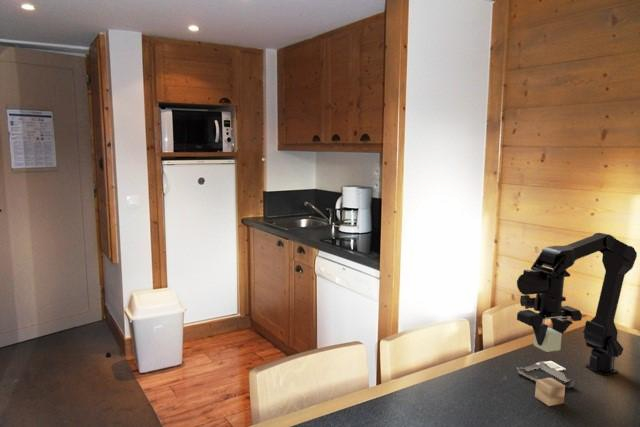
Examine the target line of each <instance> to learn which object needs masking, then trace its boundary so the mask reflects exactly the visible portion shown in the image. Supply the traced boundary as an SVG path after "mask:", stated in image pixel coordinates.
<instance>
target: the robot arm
mask: <svg viewBox="0 0 640 427" xmlns="http://www.w3.org/2000/svg"><path fill="white" fill-rule="evenodd" d="M597 252H599V253H600V254H602V259H601V262H602V264H603V267H604V270H605V273H604V276H603V281H602V285H601V290H600V294H599V299H598V301H597V307H596V312H595V316H594V317H592V319H590V320H586V322H585V324H584V329H583V332H582V333H583V338H584V341H585V345H586V347H588V348H590V349H591V352H590V356H589V364H585V367H586V368H587V369H590V370H591V371H593V372H596V373H598V374H600V375H602V376H605V375H606V376H607V375H612V374H618V373H619V370H617V369H615V368H614V367H615V358H619V357H620V356H622V354H623V352H624V347H623V346H622V344H621V343H620V342H619V340H618V328H617V326H616V324H615V318H616V313H617V309H618V306H619V300H620V295H621V291H622V287H623V285H624V284H623V283H624V278H625V276H626V274H628V273H629V271H631V270H632V269H633V267H634V266H635V262H636V259H637V255H638V253H637V251H636V249H635V247H633V246H632V245H628V244H626V243H625V242H623V241H620V240H619V239H617V238H616V237H614V236H613V235H611V234H608V233H603V232H596V233H594V234H592V235H591V236H588V237H585V238H582V239H580V240H577V241H574V242H572V243H568V244H566V245H551V246H546V247H544V248H542V249H541V252H540V253H539V255H538V256H537V257H536V259H535V261H534V262H533V264H532V266H531V267H530V269H523V272H522V273H523V274H521V275H519V276H518V278H517V280H516V287H517V289H518V291H519V292H520V293H521V294H522V295H520V298H519V299H520V300H519V302H520V303H519V304H520V306H521V307H524V309H523V310H519V311H518V312H517V314H516V320H517V321H519V322H520V323H522V324H525V325H528V326H529V327H532V330H533V334H535V336H536V340H537V343H538V345H540V346H541V345H542V343H543V341H544V338H545V335H546V331H547V328H548V327H549V325H547V324H545V323H546V320H551V323H552V328H551V329H553V330H556V331H558V332H560V333H562V335H563V334H564V333H565V332H566V331H567V330H568V328H569V327H570V326H571V325H573V323H574V322H578V321H579V322H580V321H582V316H583V314H582V312H581V311H580V309H577V308H574V307H572V306H569V305H562V304H563V302H566V301H567V298H566V297H565V296H563V295H564V287H565V284H564V283H565V278H567V277H571V273H570V272H568V271H567V269H569V268H571V267H572V266H574V265H575V262H576V261H577V260H580V259H582V258H584V257H586V256H589V255H592V254H594V253H597ZM530 295H536V296H535V297H531V296H530ZM530 309H533V310H534V311H533V310H530ZM569 318H570V319H571V320H572V321H571V320H570V319H569Z"/></svg>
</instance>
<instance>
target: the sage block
mask: <svg viewBox="0 0 640 427" xmlns="http://www.w3.org/2000/svg"><path fill="white" fill-rule="evenodd" d="M533 334H534V337H533V346H534V347H536V348H538V349H541V350H542V351H543V352H546V353H548V352H558V351H561V348H562V347H561V346H562V336H563V334H562V333H560V332H558V331H556V330H553V329H552V328H551V327H549V326H548V328H547V331H546V335H545V338H544V341H543V343H542V345H541V346H540V345H538V343H537V340H536V336H535V333H533Z"/></svg>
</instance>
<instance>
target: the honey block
mask: <svg viewBox="0 0 640 427" xmlns="http://www.w3.org/2000/svg"><path fill="white" fill-rule="evenodd" d="M561 383H562V382H561V381H560V382H559V381H558V380H557V379H554V378H553V377H546V378H541V379H538V380H536V381H535V389H534V390H535V393H534V398H536V399H537V400H539V401H540V402H542V403H543V404H545V405H547V406H548V407H551V406H552V407H553V406H557V405H562V404H564V402H565V393H566V392H565V391H566V388H565V385H563V384H561Z"/></svg>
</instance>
